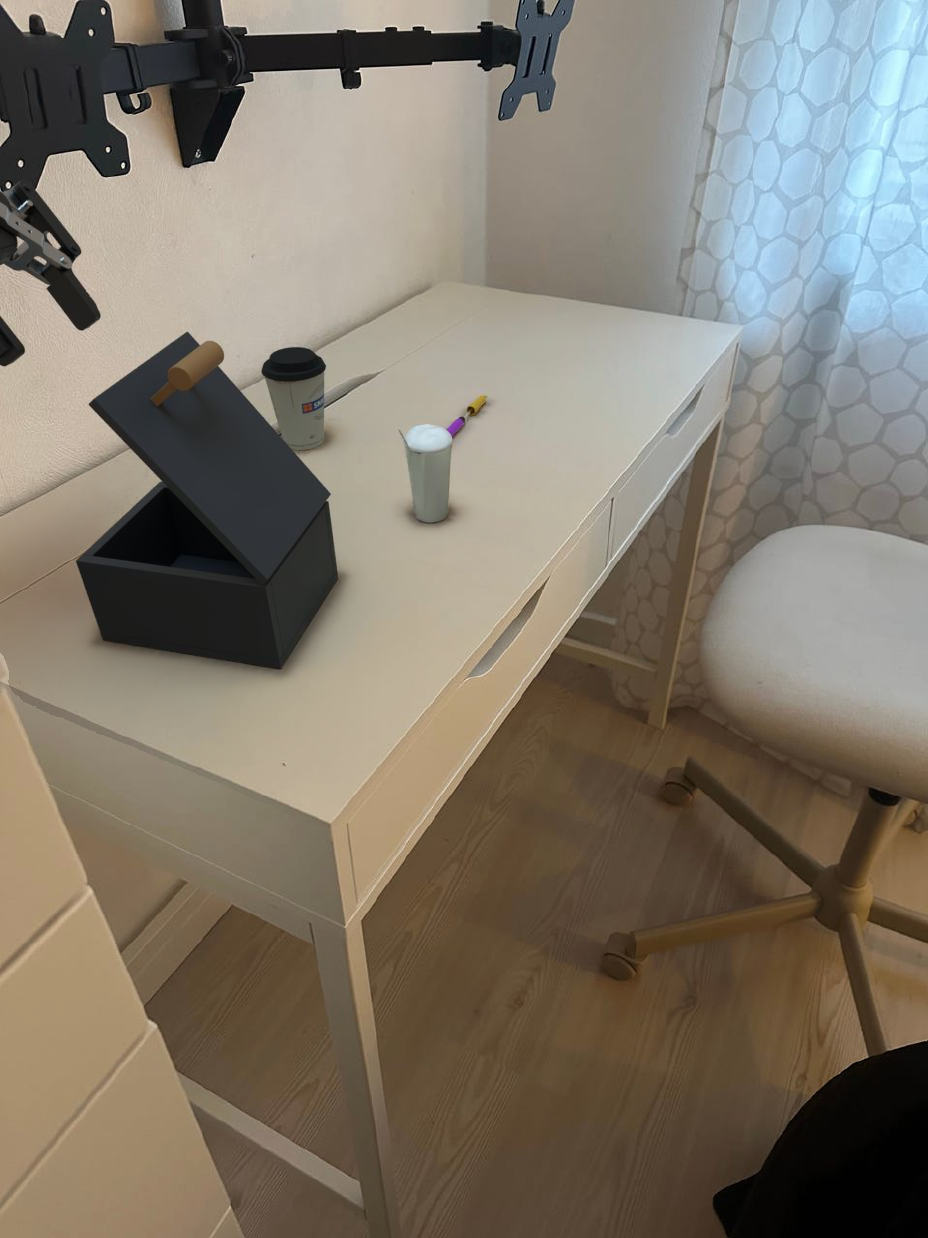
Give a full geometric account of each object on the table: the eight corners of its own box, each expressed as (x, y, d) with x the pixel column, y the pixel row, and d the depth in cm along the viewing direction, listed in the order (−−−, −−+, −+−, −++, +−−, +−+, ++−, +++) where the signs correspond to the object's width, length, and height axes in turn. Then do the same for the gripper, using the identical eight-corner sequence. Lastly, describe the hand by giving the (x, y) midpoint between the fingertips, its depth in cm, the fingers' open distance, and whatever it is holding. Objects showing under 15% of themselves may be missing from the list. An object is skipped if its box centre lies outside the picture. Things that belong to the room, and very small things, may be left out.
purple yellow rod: (436, 456, 97) (490, 400, 109) (433, 446, 97) (488, 391, 108) (415, 457, 98) (470, 402, 110) (412, 447, 98) (468, 393, 109)
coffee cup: (260, 448, 100) (245, 361, 94) (295, 423, 105) (283, 339, 99) (313, 459, 98) (301, 371, 92) (346, 433, 103) (337, 348, 97)
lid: (87, 404, 59) (128, 364, 57) (181, 336, 69) (220, 299, 66) (260, 584, 65) (305, 555, 62) (325, 498, 75) (366, 470, 72)
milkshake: (392, 515, 88) (385, 421, 82) (436, 498, 91) (432, 405, 85) (418, 534, 85) (413, 438, 79) (463, 516, 88) (461, 422, 82)
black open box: (102, 640, 73) (75, 560, 68) (179, 556, 83) (160, 480, 78) (280, 669, 70) (265, 587, 65) (338, 577, 80) (328, 500, 75)
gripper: (-183, 91, 50) (19, 346, 56) (-9, 76, 62) (144, 289, 67) (-239, 167, 54) (-45, 399, 60) (-65, 139, 65) (84, 337, 71)
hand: (55, 341), depth 63 cm, fingers open, 8 cm apart
